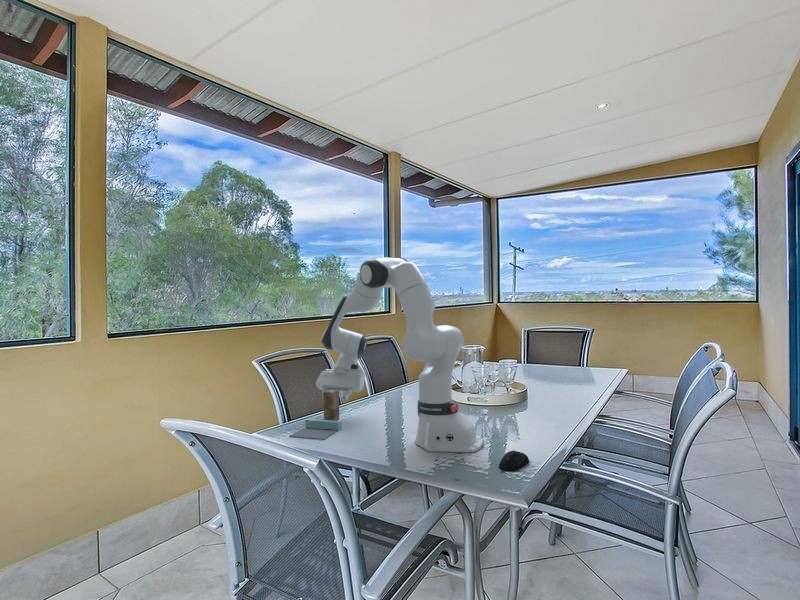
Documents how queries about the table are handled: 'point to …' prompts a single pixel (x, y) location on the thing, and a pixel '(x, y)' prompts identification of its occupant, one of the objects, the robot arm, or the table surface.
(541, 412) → the table surface
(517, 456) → the gaming mouse
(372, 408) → the table surface
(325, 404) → the walnut block
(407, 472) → the table surface
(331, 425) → the teal rail
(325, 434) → the rubber mat
